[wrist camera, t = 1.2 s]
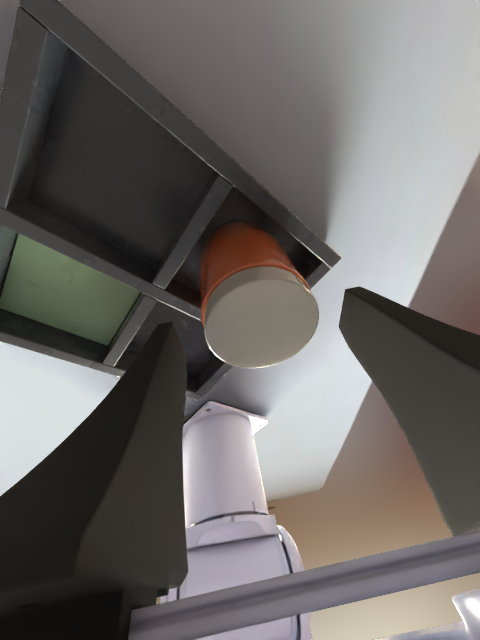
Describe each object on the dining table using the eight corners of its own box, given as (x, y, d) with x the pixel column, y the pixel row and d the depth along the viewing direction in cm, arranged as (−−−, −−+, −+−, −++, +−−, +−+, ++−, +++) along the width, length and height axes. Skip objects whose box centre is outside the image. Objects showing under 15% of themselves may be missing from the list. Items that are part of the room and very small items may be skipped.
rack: (198, 379, 22) (198, 401, 20) (-17, 305, 15) (-44, 328, 13) (325, 243, 16) (342, 258, 14) (57, 0, 9) (23, -31, 7)
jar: (246, 307, 17) (267, 381, 12) (183, 272, 15) (178, 345, 10) (295, 252, 15) (345, 314, 10) (232, 200, 13) (256, 248, 8)
